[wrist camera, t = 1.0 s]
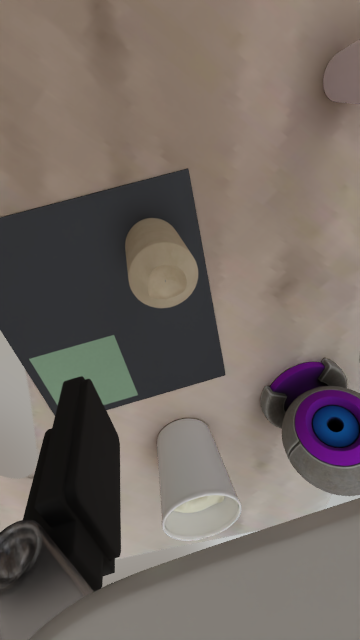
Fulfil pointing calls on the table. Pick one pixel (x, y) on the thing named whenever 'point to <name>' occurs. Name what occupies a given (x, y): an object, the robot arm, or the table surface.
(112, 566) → the robot arm
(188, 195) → the desk pad
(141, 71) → the table surface
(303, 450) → the webcam
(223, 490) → the candle holder
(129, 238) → the candle
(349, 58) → the smoothie
